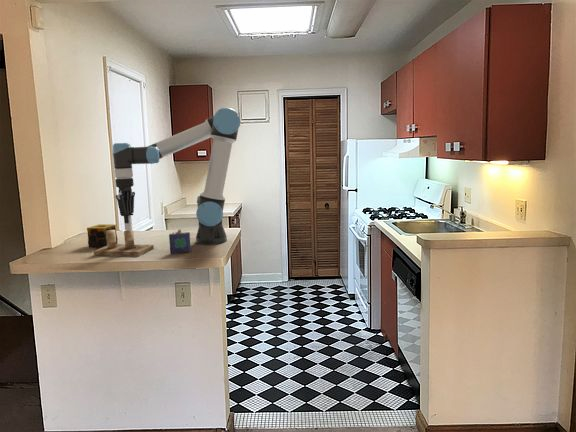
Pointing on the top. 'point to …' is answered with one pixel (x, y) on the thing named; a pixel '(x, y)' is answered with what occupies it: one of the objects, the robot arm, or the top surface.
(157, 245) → the top surface
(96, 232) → the black and yellow cube
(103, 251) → the seat board
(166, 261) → the top surface
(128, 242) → the oak leg
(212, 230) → the robot arm
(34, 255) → the top surface
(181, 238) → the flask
